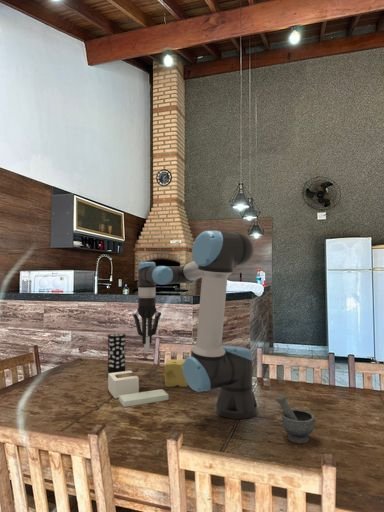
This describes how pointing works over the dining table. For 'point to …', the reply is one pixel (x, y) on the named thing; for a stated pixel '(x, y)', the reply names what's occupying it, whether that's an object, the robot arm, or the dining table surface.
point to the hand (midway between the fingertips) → (146, 351)
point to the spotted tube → (116, 353)
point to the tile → (142, 375)
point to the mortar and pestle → (296, 422)
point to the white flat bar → (143, 397)
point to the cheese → (175, 373)
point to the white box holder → (122, 384)
